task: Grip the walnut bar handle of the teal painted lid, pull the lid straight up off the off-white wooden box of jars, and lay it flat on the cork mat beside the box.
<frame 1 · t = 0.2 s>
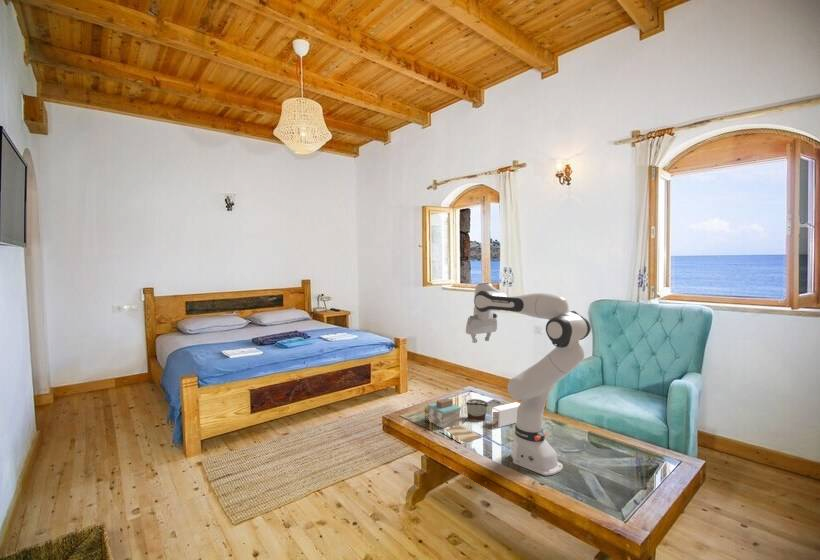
hand: (480, 341, 203), 47 cm above the table, tool pointing down, fingers open, 8 cm apart
mat: (460, 434, 202), on the table
lid: (444, 410, 216), point 7 cm above the table, touching box
box: (443, 422, 217), on the table
food container: (475, 418, 225), on the table
cigarette display: (506, 423, 220), on the table
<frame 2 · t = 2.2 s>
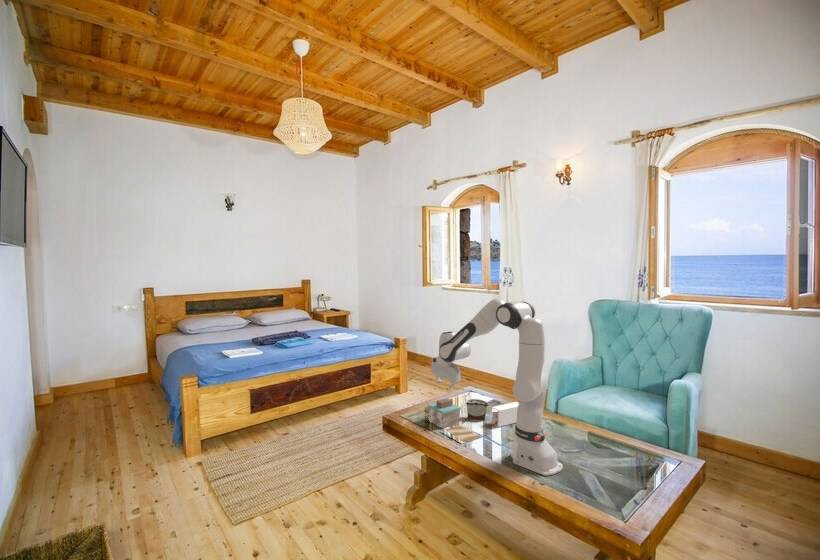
hand: (444, 386, 216), 20 cm above the table, tool pointing down, fingers open, 8 cm apart
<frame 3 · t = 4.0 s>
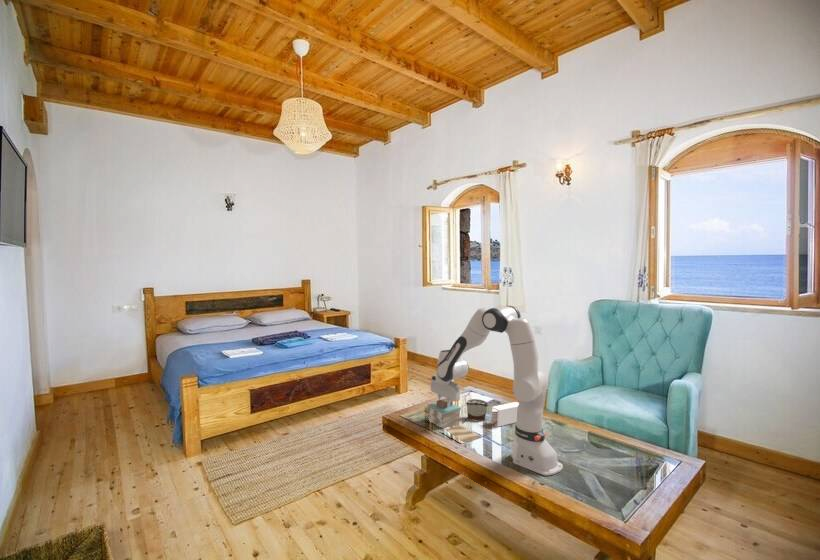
hand: (444, 404, 216), 10 cm above the table, tool pointing down, fingers closed on lid, 4 cm apart
lid: (444, 410, 216), point 7 cm above the table, touching box, gripper
everything else where it was.
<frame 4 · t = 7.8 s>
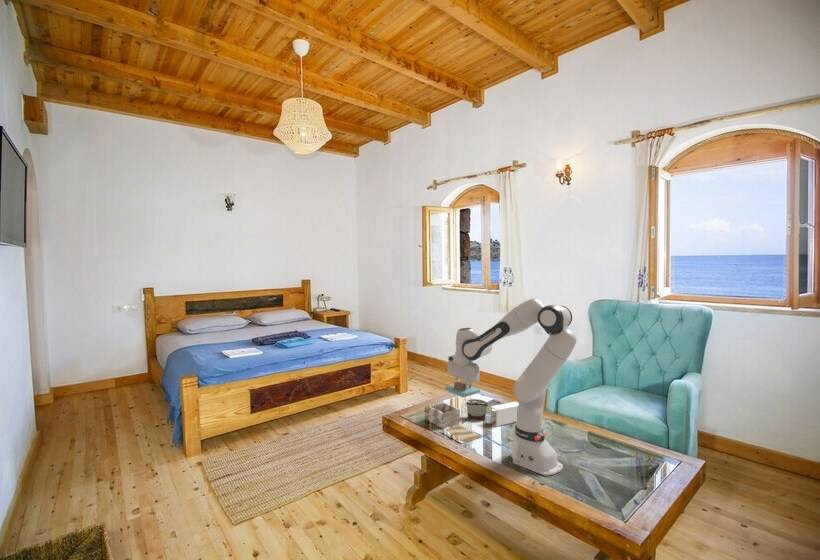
hand: (462, 386, 201), 25 cm above the table, tool pointing down, fingers closed on lid, 4 cm apart
lid: (462, 392, 201), point 22 cm above the table, touching gripper
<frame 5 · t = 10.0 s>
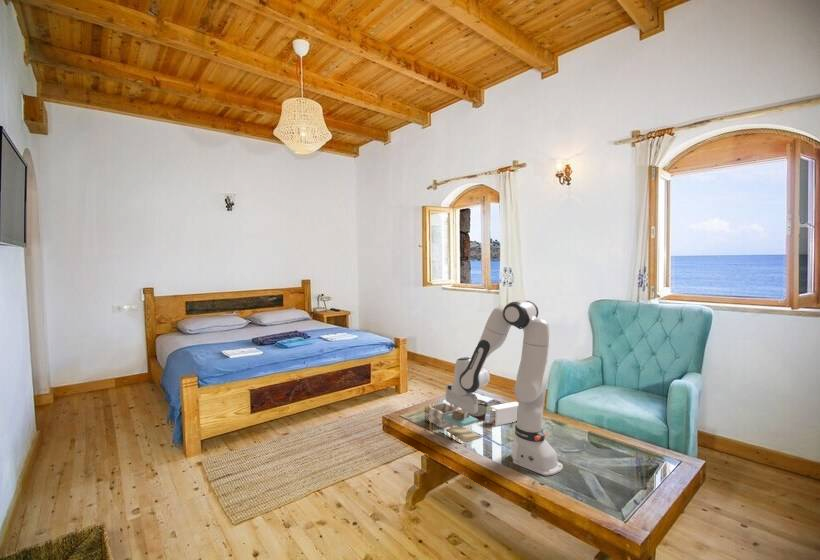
hand: (460, 415, 202), 10 cm above the table, tool pointing down, fingers closed on lid, 4 cm apart
lid: (460, 421, 202), point 7 cm above the table, touching gripper
when the fingers open (5 cm above the table, at t = 11.6 s): lid drops 2 cm, resting on mat.
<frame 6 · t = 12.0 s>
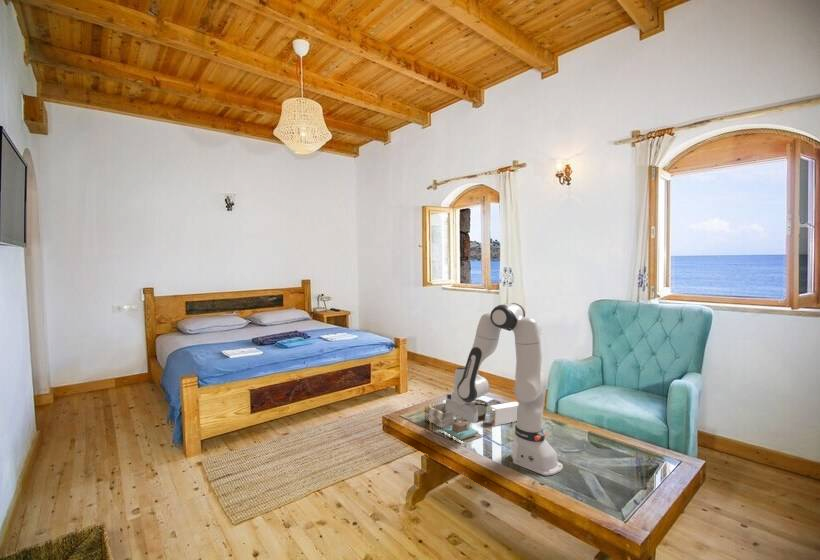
hand: (460, 425, 202), 5 cm above the table, tool pointing down, fingers open, 8 cm apart
lid: (460, 434, 202), resting on mat
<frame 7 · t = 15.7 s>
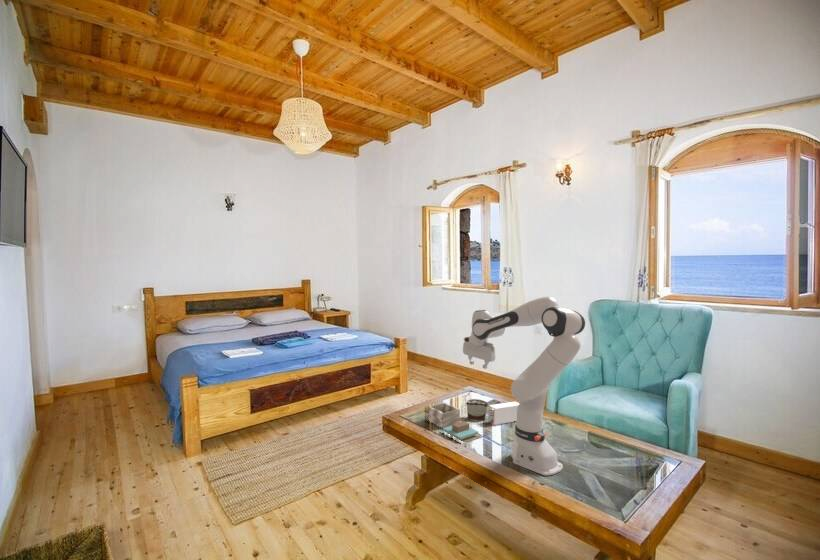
hand: (478, 366, 210), 33 cm above the table, tool pointing down, fingers open, 8 cm apart
at the end: lid inside the target area (0.1 cm from its centre), resting on mat; lid tilted 0°; the gripper is holding nothing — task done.
